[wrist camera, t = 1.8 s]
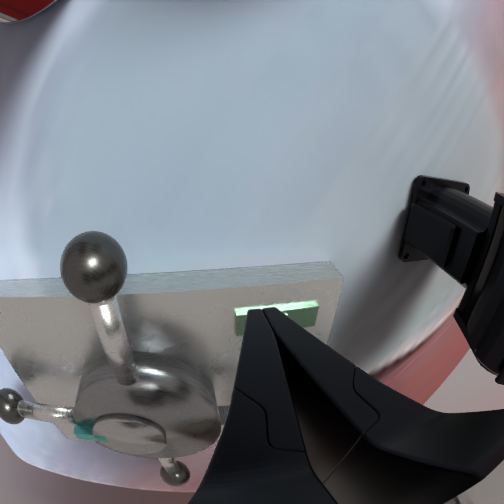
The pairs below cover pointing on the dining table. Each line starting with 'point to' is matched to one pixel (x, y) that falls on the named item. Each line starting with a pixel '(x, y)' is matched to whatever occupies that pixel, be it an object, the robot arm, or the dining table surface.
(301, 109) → the dining table surface
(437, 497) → the robot arm
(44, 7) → the soda can
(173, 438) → the capstan
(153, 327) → the stand
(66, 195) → the dining table surface
